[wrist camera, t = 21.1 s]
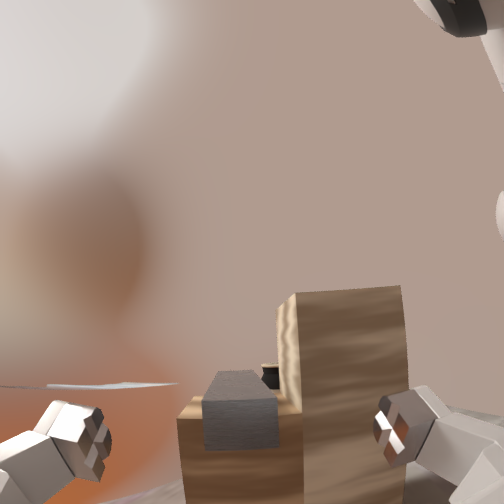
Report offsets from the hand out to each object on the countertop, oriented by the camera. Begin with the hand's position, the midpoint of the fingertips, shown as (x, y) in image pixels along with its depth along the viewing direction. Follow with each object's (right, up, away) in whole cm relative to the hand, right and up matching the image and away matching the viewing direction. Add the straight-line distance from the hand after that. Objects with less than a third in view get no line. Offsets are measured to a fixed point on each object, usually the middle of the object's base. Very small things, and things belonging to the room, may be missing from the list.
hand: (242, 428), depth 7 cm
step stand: (+5, -25, +15) cm, 30 cm away
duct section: (-1, -9, +16) cm, 18 cm away
